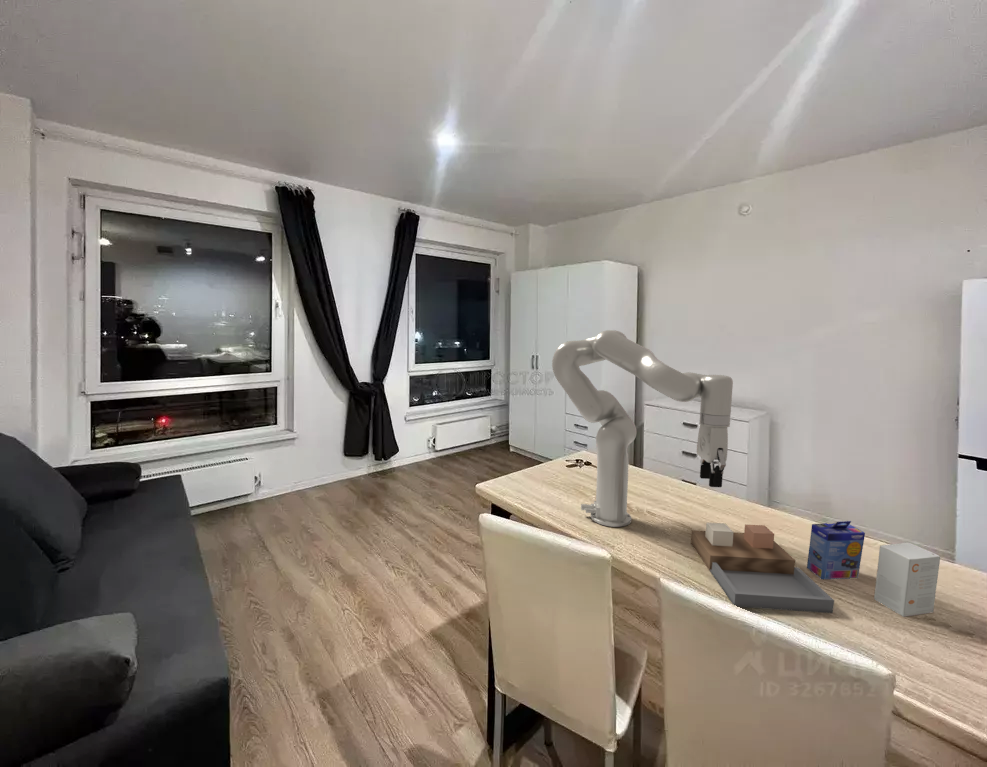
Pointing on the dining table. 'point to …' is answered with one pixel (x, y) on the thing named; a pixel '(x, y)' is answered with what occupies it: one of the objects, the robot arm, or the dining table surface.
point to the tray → (773, 590)
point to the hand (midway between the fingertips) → (710, 481)
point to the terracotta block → (759, 536)
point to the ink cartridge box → (835, 550)
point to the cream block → (719, 534)
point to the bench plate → (742, 555)
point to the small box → (907, 578)
